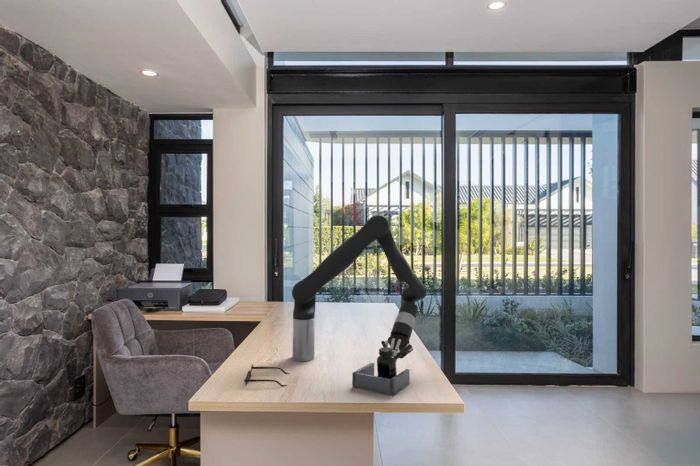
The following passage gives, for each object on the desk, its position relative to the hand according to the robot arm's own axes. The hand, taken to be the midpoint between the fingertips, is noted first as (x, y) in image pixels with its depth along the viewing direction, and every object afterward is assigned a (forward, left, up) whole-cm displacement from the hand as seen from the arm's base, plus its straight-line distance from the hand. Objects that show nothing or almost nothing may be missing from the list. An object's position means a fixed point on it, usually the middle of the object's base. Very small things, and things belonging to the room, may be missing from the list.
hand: (390, 366), depth 155 cm
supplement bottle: (-2, -2, -5) cm, 6 cm away
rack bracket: (-4, -4, -5) cm, 8 cm away
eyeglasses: (-44, +6, -6) cm, 45 cm away
